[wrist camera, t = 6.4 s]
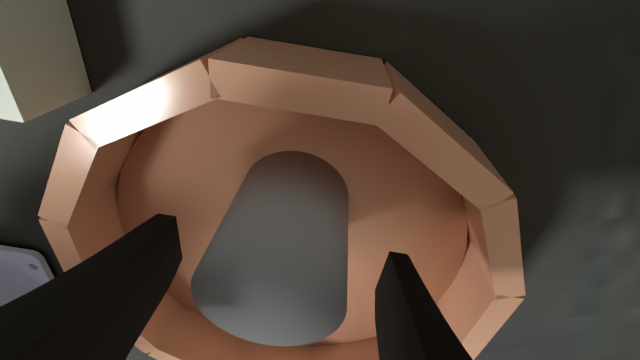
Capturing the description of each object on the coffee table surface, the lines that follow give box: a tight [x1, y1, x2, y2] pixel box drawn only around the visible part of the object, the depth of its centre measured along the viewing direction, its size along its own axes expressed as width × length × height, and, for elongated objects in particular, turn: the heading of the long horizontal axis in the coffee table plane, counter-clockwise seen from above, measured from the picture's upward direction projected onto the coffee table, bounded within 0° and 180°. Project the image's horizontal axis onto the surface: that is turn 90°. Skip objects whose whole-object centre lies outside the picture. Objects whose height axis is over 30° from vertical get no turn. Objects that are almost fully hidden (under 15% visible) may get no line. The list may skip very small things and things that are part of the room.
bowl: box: [38, 37, 525, 360], centre depth 14 cm, size 18×18×4 cm
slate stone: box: [191, 151, 349, 346], centre depth 11 cm, size 4×4×5 cm
